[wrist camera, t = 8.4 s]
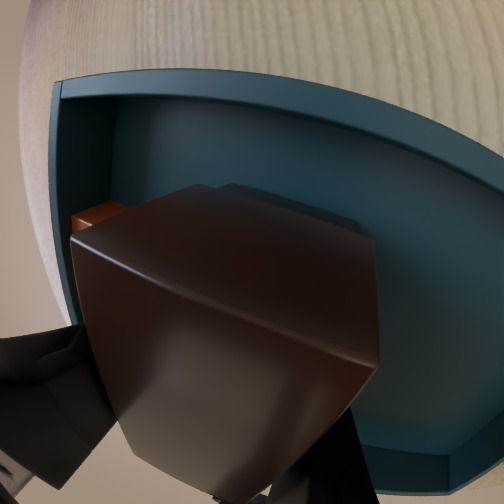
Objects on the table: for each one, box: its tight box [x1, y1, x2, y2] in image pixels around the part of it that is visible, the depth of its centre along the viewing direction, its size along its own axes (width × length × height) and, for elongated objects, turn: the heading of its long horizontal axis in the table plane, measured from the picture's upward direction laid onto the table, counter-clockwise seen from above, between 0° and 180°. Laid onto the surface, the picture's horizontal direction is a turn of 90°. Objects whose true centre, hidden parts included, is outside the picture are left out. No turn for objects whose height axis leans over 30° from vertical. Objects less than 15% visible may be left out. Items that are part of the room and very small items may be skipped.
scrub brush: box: [70, 183, 381, 504], centre depth 7 cm, size 4×8×5 cm, turn 168°
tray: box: [48, 68, 504, 496], centre depth 8 cm, size 20×13×3 cm, turn 79°
